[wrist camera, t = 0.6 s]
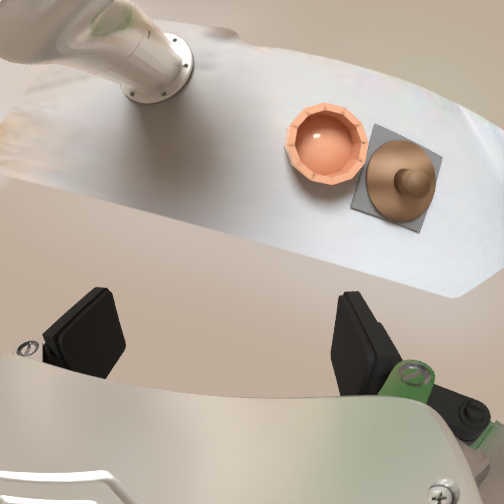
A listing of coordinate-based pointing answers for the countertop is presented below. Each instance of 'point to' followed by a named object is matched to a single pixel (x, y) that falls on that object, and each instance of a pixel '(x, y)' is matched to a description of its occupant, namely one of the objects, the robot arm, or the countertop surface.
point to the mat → (361, 195)
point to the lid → (400, 180)
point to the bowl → (326, 144)
